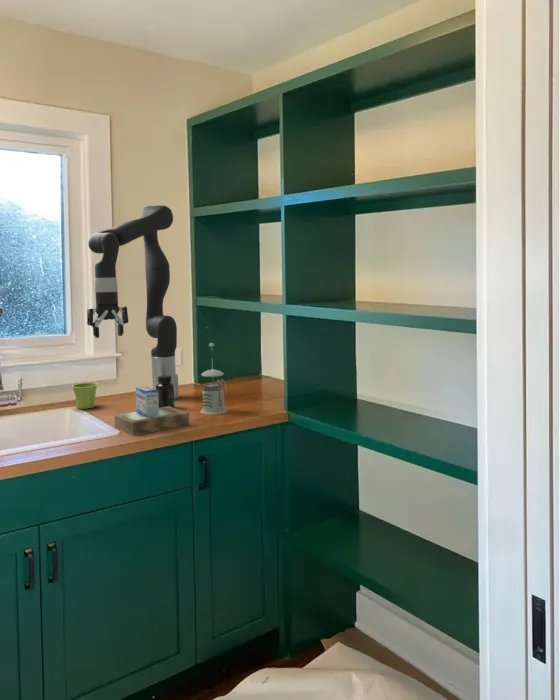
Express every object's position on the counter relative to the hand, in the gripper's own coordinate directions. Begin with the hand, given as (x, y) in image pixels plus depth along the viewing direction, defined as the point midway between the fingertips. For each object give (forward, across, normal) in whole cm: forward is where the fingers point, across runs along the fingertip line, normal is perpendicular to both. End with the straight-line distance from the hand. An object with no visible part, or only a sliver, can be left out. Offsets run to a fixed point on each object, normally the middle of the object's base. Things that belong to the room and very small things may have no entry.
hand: (108, 336), depth 232 cm
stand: (+28, +3, -25) cm, 38 cm away
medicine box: (+24, +1, -26) cm, 35 cm away
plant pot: (+28, -3, +18) cm, 34 cm away
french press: (+28, +30, -21) cm, 46 cm away
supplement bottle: (+28, +19, -4) cm, 34 cm away
